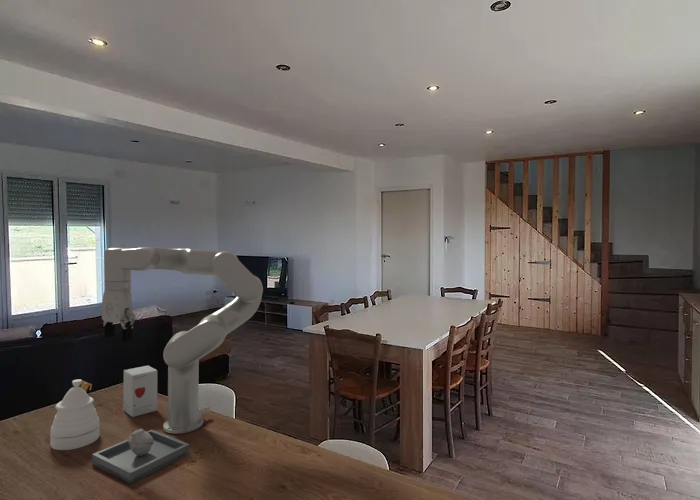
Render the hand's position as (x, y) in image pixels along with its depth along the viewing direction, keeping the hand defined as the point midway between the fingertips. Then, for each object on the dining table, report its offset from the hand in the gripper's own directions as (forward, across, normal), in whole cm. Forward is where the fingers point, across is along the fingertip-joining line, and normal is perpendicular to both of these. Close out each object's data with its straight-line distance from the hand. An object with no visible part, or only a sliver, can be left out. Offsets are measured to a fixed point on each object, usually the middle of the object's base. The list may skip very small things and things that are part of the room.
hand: (118, 339), depth 136 cm
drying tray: (+30, +22, -6) cm, 38 cm away
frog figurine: (+30, +22, -6) cm, 37 cm away
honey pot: (+31, -6, -10) cm, 33 cm away
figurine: (+31, -25, +1) cm, 39 cm away
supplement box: (+31, -10, +14) cm, 35 cm away
